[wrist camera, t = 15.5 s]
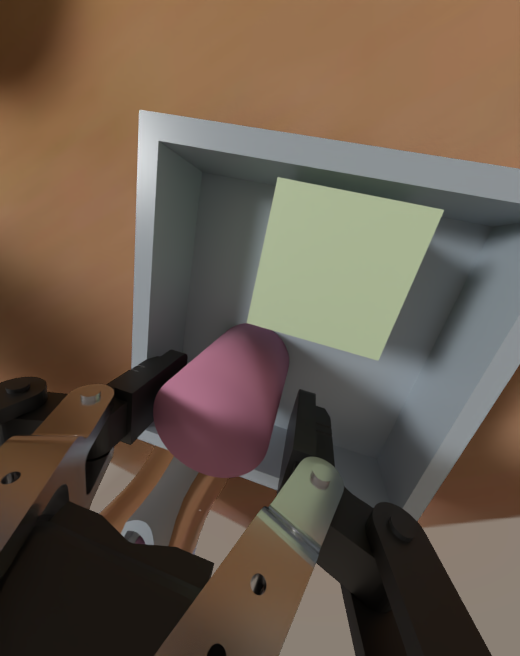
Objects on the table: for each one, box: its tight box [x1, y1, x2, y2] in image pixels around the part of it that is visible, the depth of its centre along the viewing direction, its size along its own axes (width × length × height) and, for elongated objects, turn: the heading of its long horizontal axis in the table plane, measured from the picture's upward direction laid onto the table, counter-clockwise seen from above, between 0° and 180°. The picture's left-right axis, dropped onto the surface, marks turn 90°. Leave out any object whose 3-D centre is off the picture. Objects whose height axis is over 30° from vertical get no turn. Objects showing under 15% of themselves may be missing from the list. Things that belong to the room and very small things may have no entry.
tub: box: [131, 110, 520, 521], centre depth 12 cm, size 15×15×4 cm
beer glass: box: [98, 445, 228, 554], centre depth 12 cm, size 7×7×15 cm
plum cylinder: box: [153, 323, 289, 478], centre depth 11 cm, size 4×4×6 cm
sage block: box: [247, 177, 444, 361], centre depth 10 cm, size 5×5×5 cm
